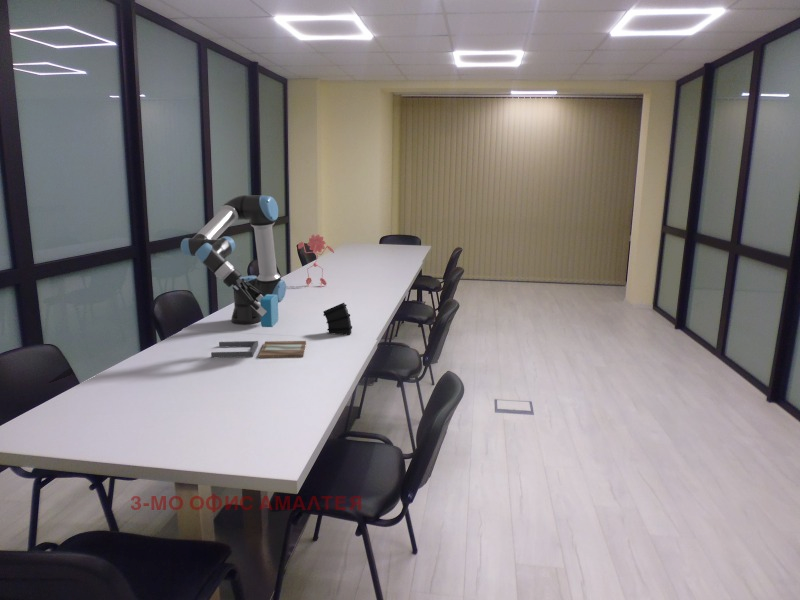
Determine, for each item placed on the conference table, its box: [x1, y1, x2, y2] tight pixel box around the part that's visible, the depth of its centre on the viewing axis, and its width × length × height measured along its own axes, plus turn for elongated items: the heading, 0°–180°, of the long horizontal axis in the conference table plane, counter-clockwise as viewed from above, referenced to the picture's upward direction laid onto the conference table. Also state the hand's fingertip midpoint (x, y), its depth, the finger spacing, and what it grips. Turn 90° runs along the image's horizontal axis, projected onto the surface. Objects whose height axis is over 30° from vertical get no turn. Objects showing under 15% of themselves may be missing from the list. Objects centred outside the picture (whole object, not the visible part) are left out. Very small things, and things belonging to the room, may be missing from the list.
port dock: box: [258, 340, 307, 359], centre depth 246 cm, size 20×18×1 cm
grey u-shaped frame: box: [210, 340, 259, 359], centre depth 244 cm, size 16×17×2 cm
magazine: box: [322, 302, 353, 336], centre depth 272 cm, size 4×13×15 cm, turn 76°
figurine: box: [297, 234, 335, 287], centre depth 389 cm, size 15×26×35 cm, turn 80°
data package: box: [259, 294, 279, 328], centre depth 240 cm, size 12×4×12 cm, turn 179°
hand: (267, 310), depth 240 cm, fingers closed on data package, 12 cm apart
